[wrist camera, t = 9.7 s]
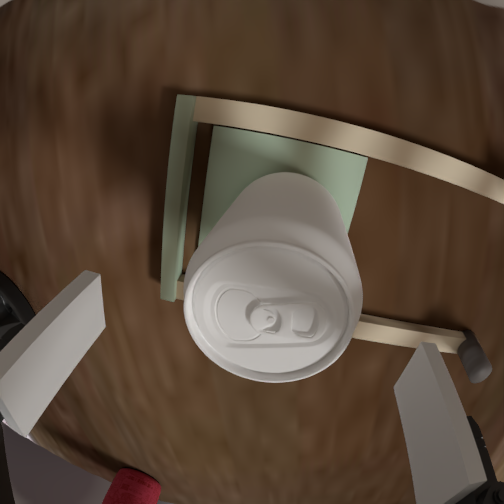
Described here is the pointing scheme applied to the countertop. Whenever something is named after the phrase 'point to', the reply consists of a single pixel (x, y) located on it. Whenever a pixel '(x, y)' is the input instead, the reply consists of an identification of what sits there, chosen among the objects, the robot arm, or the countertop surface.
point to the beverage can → (275, 282)
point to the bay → (313, 166)
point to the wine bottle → (132, 488)
